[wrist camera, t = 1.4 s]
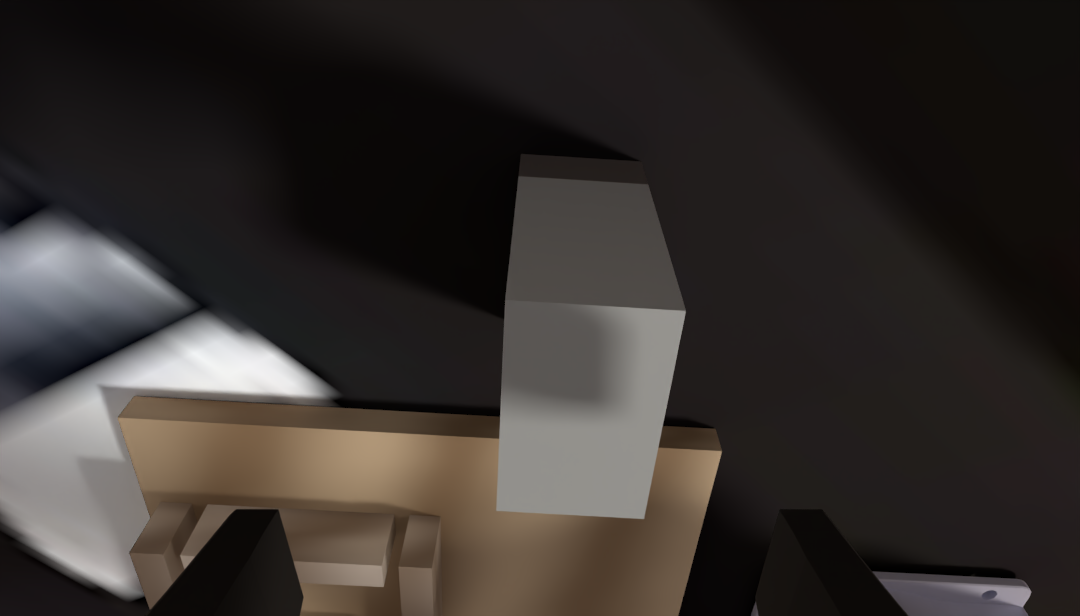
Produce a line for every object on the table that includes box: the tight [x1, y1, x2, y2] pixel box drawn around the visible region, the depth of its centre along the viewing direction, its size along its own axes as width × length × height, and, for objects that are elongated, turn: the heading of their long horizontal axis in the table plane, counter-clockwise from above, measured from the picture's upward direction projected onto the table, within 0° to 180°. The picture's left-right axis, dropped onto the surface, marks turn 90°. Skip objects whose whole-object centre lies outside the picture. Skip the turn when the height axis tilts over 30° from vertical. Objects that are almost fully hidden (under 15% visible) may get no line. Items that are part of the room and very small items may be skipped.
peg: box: [496, 154, 686, 519], centre depth 16 cm, size 3×5×7 cm, turn 176°
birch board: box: [118, 396, 722, 616], centre depth 24 cm, size 18×14×3 cm
